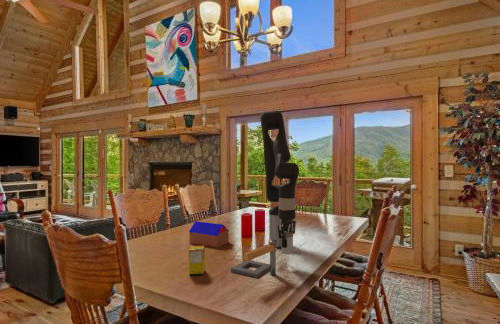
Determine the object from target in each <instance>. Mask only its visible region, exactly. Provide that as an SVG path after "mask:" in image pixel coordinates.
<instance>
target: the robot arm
mask: <svg viewBox="0 0 500 324" xmlns="http://www.w3.org/2000/svg"><path fill="white" fill-rule="evenodd" d="M260 127H261V134H262V142H263V159H264V162H263V163H264V170H265V172H264V173H265V193H266V197H265V198H266V200H267V201H268V202H270V203H271V202H272V203H278V205H276V206H274V207H271V208H269V210H268V222H269V223H268V232H269V233H268V241H269V240H277V244H276V248H282V247H283V248H287V235H288V234H289V231H290V232H293V235H296V225H297V221H296V220H295V219H296V217H297V215H296V214H297V213H296V211H297V210H296V187H297V186H296V185H297V182H298V177H299V174H300V167H299V166H298V164H297V163H295V162H289V161H290V160H291V159H292V158H291V157H292V156H291V152H290V149H289V148H290V147H289V145H288V142H287V135H286V134H287V133H286V128H285V121H284V116H283V114H282V112H281V111H279V110H271V111H266V112H265V111H264V112H261V114H260ZM272 130H273V131H274V130H278V131H277V134H276V137H275V139H274V141H273V139H272V137H271V135H270V133H269V131H272ZM275 177H276V178H277V179H279V180H285V179H286V180H288V181H287V182H286V183H283V184H280V185H279V184H278V185H275V184H273V182H274V179H275ZM285 231H287V232H285Z"/></svg>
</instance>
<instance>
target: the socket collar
mask: <svg viewBox="0 0 500 324" xmlns="http://www.w3.org/2000/svg"><path fill="white" fill-rule="evenodd" d="M248 267H252V268H256V269H255V270H253V269H250V268H249V269H248ZM269 271H270V263H266V262H260V261H255V260H249V261H247V260H244V261H242V262H240V263H239V264H237V265H235V266H232V267H230V272H231V273H235V274H238V275H243V276H248V277H252V278H256V279H257V278H259V277H261V276H262V275H263V274H265V273H266V272H269Z"/></svg>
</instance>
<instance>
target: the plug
mask: <svg viewBox="0 0 500 324" xmlns="http://www.w3.org/2000/svg"><path fill="white" fill-rule="evenodd" d="M285 232H287V231H285ZM293 253H294V234H293V232H290V231H289V234H288V235H287V248H283V247H281V254H285V255H292V254H293Z"/></svg>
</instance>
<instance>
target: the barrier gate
mask: <svg viewBox="0 0 500 324" xmlns="http://www.w3.org/2000/svg"><path fill="white" fill-rule="evenodd" d="M267 241H268V242H267V243H268V244H265V245H263V246H262V245H261V246H259V247H257V248H254V249H252V250H249V251H247V252H244V253H243V260H244V261H246V260H247V261H249V260H251V261H253V260H254V259H257V258H259V257H261V256H264V255H266V254H269V264H270V270H269V275H271V276H276V274H277V269H276V268H277V264H276V263H277V259H276V256H277V254H276V253H277V252H276V251H277V247H276V244H277V240H269V239H268V240H267Z"/></svg>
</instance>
